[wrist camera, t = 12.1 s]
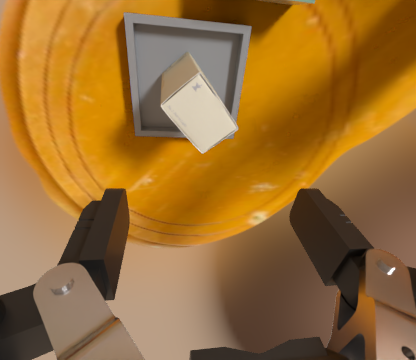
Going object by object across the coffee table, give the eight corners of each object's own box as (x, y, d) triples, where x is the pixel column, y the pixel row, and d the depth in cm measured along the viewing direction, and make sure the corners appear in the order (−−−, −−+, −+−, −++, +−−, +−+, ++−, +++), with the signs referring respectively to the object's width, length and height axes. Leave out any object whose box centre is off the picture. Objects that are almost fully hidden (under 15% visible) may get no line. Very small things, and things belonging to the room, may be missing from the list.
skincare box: (160, 73, 29) (155, 104, 19) (189, 49, 28) (198, 68, 18) (192, 113, 32) (200, 156, 22) (218, 92, 31) (240, 129, 21)
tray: (247, 25, 28) (251, 26, 26) (230, 133, 35) (233, 138, 34) (126, 12, 25) (123, 12, 24) (137, 130, 33) (135, 135, 32)
